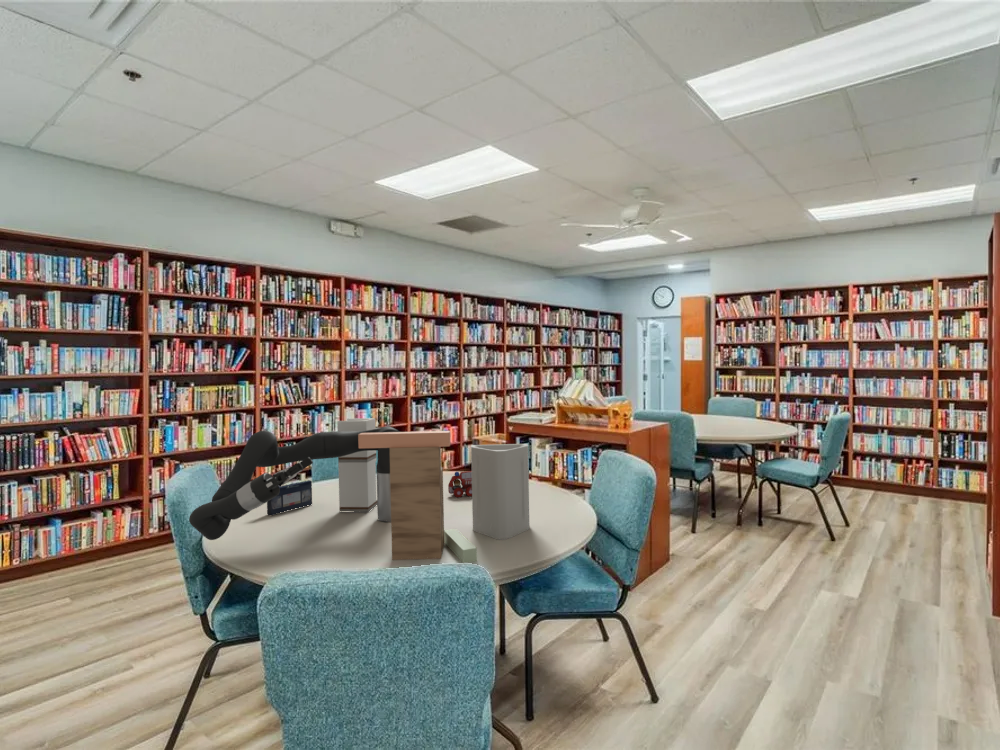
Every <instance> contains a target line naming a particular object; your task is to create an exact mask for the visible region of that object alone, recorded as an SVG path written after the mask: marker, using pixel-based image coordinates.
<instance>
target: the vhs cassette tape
mask: <svg viewBox="0 0 1000 750" xmlns="http://www.w3.org/2000/svg"><path fill="white" fill-rule="evenodd" d="M312 483H313V482H312V480H305V481H304V480H303V481H298V482H294V483H290V484H284V485H282V486H280V487H279V488H280V493H279V495H277V496H276V497H274V498H273V499H271V500H269V501H268V502H266V509H267V510H266V513H267V514H268V515H267V516H270V515H272V516H274V515H273V514H276V513H280V512H284V511H287V510H291V509H295V508H299V507H303V506H307V505H311V504H312V505H313V487H312V485H313V484H312ZM312 505H311V506H312ZM307 507H308V506H307ZM303 508H304V507H303ZM284 513H285V512H284ZM280 514H281V513H280ZM276 515H277V514H276Z"/></svg>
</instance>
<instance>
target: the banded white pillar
mask: <svg viewBox="0 0 1000 750" xmlns="http://www.w3.org/2000/svg"><path fill="white" fill-rule="evenodd" d="M376 422H377V421H376V418H371V417H370V418H369V417H368V418H366V417H364V418H361V417H360V418H358V417H357V418H356V417H354V418H346V420H337V422H336V424H337V429H336V430H337V431H366V430H372V429H377V428H376V427H377V426H376V424H377V423H376ZM337 462H338V465H337V466H338V469H337V470H338V493H339V494H338V496H339V497H338V501H339V502H338V506H339V512H340V511H354V512H353V513H370V512H371V511H372V510H373V509H375V508H376V507H377V506H376V505H377V469H376V466H377V463H376V462H377V450H372V451H360V452H356V453H352V454H349V455H345V456H341V457H337ZM375 506H376V507H375ZM374 507H375V508H374ZM372 508H373V509H372ZM371 509H372V510H371ZM370 510H371V511H370ZM369 511H370V512H369Z"/></svg>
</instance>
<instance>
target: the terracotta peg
mask: <svg viewBox="0 0 1000 750" xmlns="http://www.w3.org/2000/svg"><path fill="white" fill-rule="evenodd" d="M358 444H359V448H402V447H445V448H446V447H451V431H450V430H437V431H436V430H430V431H429V430H428V431H426V430H425V431H399V432H378V433H360V434H358Z"/></svg>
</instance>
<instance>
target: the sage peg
mask: <svg viewBox="0 0 1000 750" xmlns="http://www.w3.org/2000/svg"><path fill="white" fill-rule="evenodd" d="M444 544H445V545H446V546H447V547H448V548H449V549H450V550H451V551H452V552H453V553H454V554H455V555H456V557H457V558H458V559H459V560H460V561H461V563H463V562H468V563H473V562H474V563H475V562H478V554H477V553H478V551H477V549H478V548H477V547H476V546H475V545H474V544H473V543H472V542H471V541H470V540H469V539H468V538H466V537H465V536H464V535H463V534H462V532H461V531H459V530H458V529H457V528H450V529H444Z"/></svg>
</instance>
